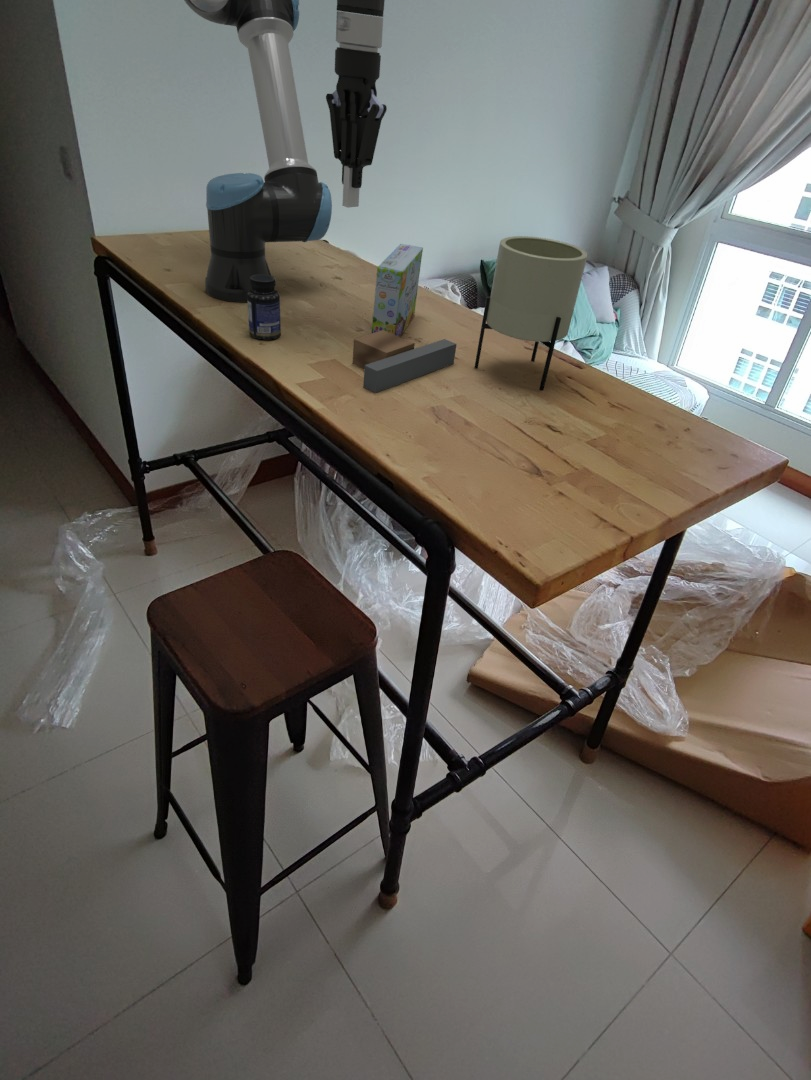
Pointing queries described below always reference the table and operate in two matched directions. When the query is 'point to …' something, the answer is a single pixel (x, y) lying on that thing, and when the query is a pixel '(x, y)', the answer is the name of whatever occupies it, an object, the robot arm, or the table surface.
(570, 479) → the table surface
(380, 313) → the snack box
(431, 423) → the table surface
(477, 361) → the planter
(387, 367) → the gray rectangular bar
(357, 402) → the table surface
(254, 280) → the pill bottle
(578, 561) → the table surface
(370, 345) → the block
